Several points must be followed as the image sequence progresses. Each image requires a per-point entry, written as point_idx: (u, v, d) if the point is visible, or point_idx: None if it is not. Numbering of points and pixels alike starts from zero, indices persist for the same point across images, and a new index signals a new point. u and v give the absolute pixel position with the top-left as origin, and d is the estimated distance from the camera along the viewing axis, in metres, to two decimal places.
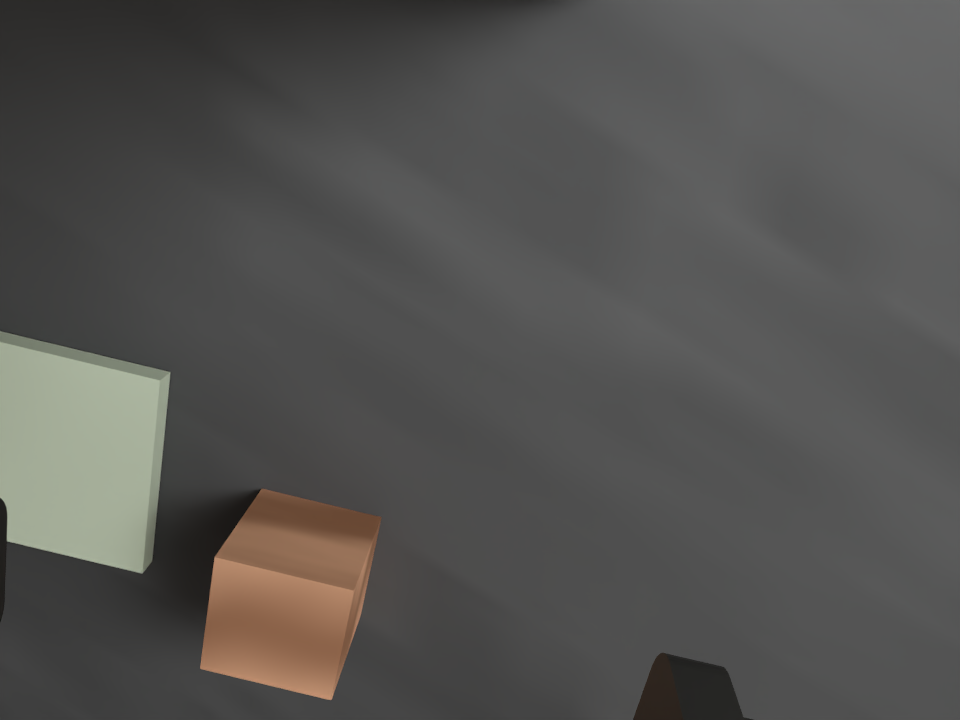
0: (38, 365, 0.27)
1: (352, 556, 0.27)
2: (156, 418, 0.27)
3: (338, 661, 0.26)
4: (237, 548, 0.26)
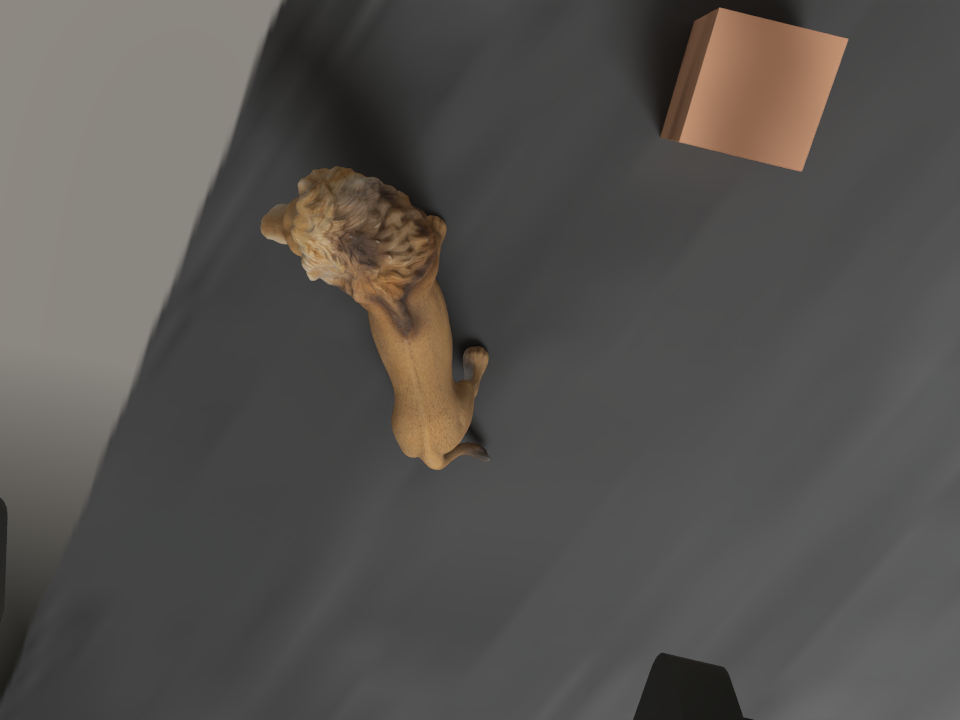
0: None
1: None
2: None
3: (724, 151, 0.28)
4: None
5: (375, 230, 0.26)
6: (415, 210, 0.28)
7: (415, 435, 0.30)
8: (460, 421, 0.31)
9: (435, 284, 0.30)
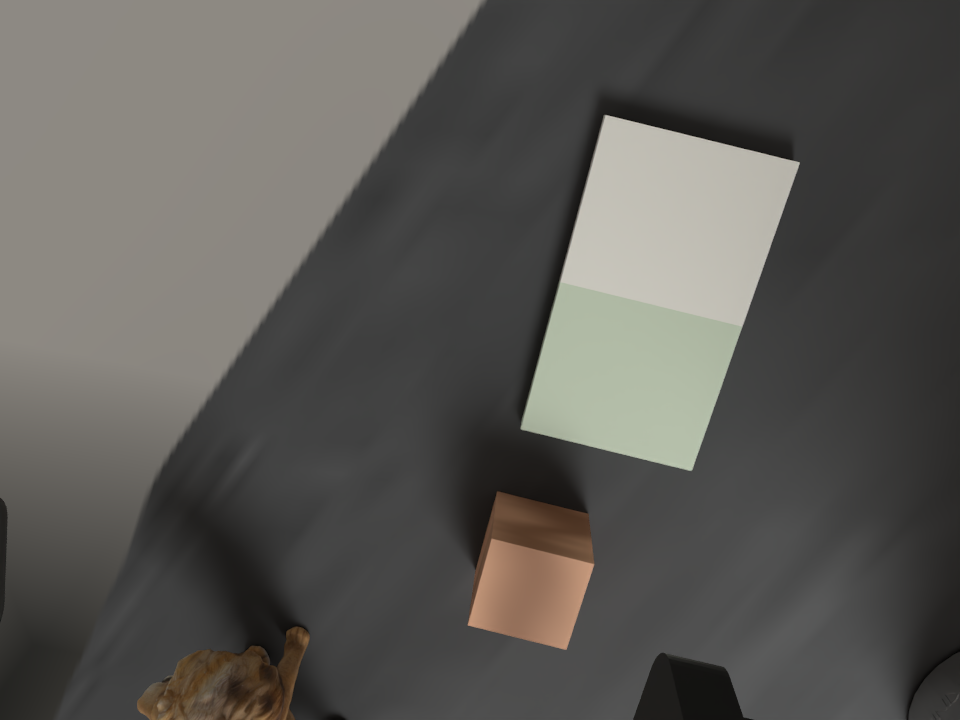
0: (709, 383, 0.35)
1: None
2: (659, 462, 0.36)
3: (503, 633, 0.35)
4: None
5: None
6: (262, 686, 0.36)
7: None
8: None
9: None
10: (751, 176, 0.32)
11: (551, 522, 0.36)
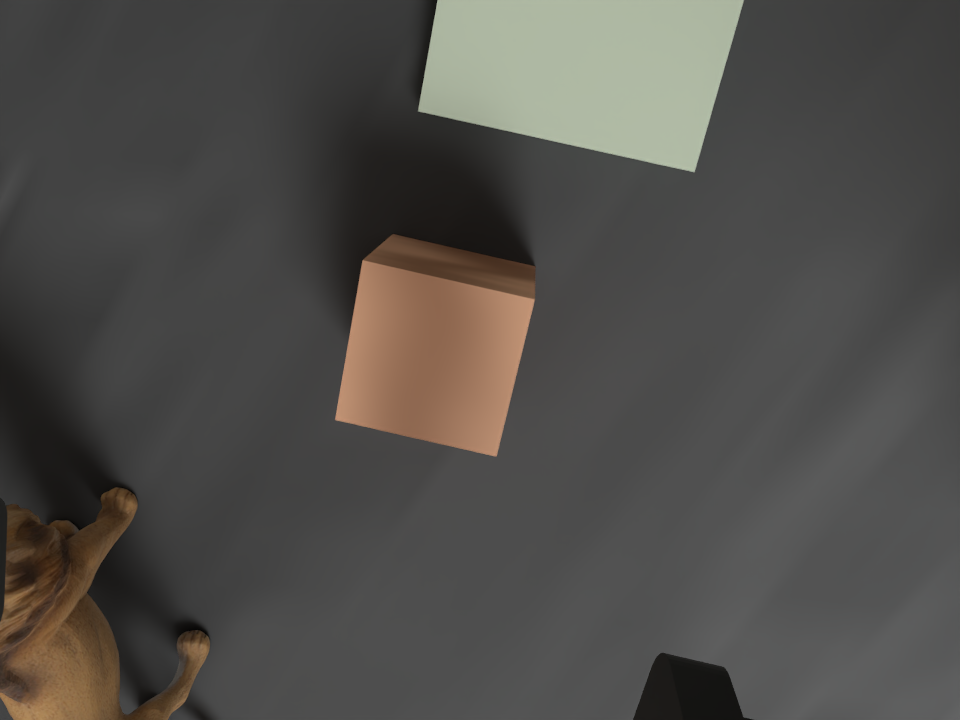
0: (720, 9, 0.21)
1: None
2: (643, 160, 0.22)
3: (394, 432, 0.22)
4: None
5: None
6: (17, 549, 0.22)
7: None
8: None
9: (67, 623, 0.23)
10: None
11: (472, 263, 0.23)
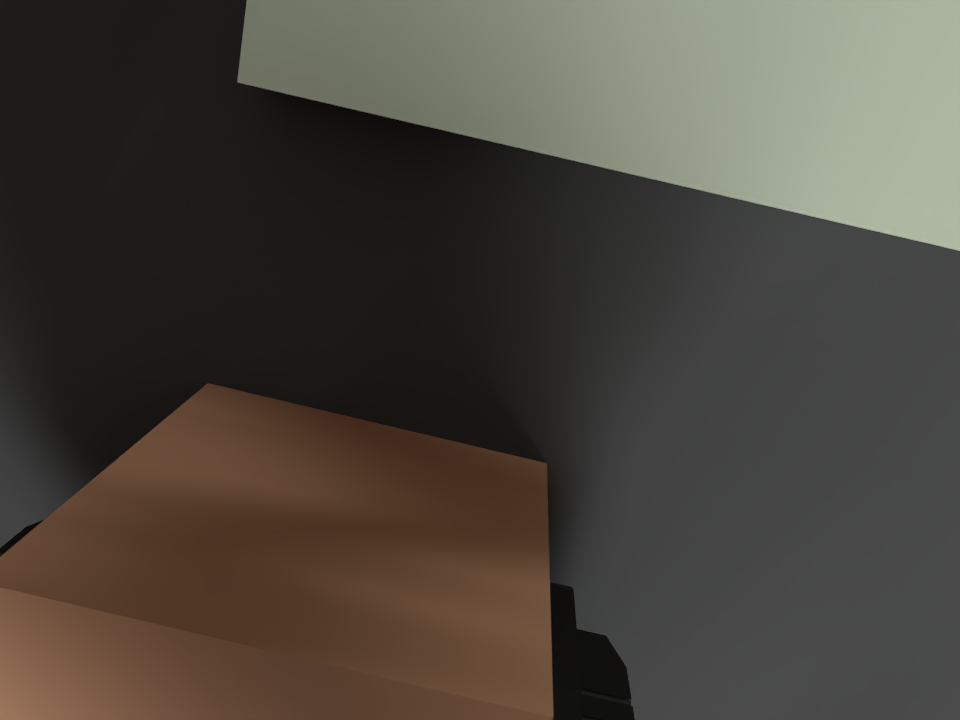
0: None
1: None
2: None
3: None
4: None
5: None
6: None
7: None
8: None
9: None
10: None
11: (382, 495, 0.09)
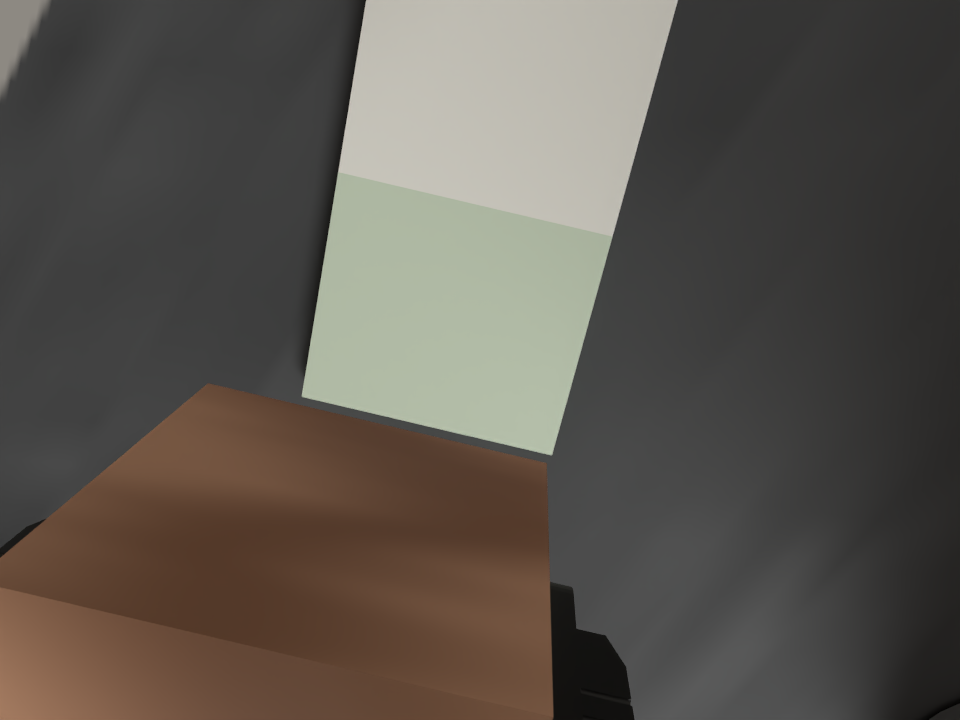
0: (569, 324, 0.23)
1: None
2: (505, 443, 0.25)
3: None
4: None
5: None
6: None
7: None
8: None
9: None
10: None
11: (382, 495, 0.09)
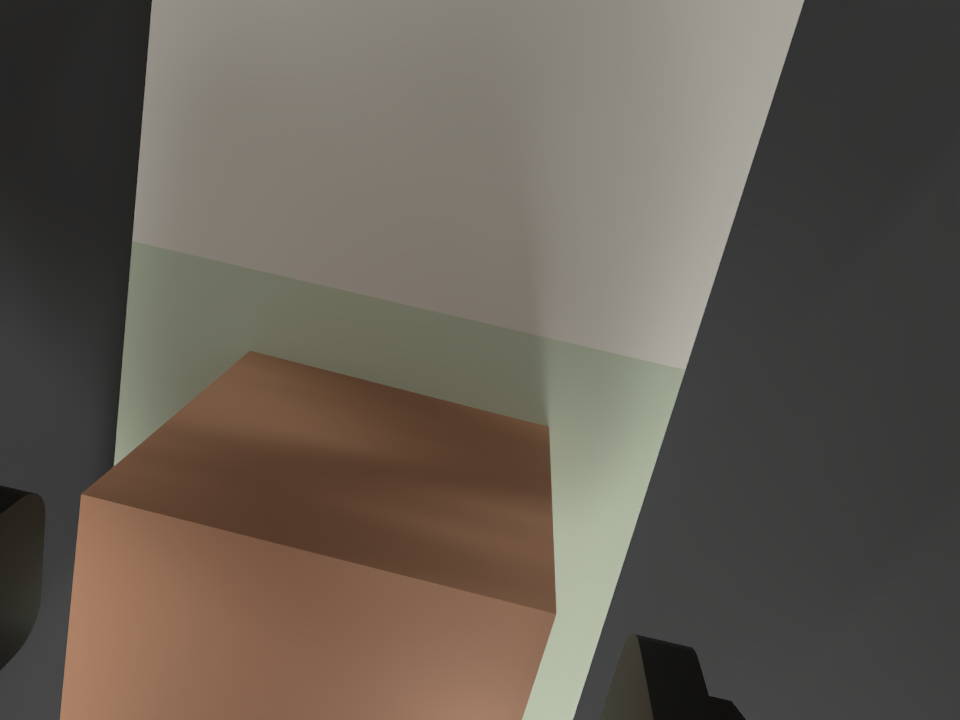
0: (597, 530, 0.12)
1: None
2: None
3: None
4: None
5: None
6: None
7: None
8: None
9: None
10: None
11: (407, 446, 0.10)
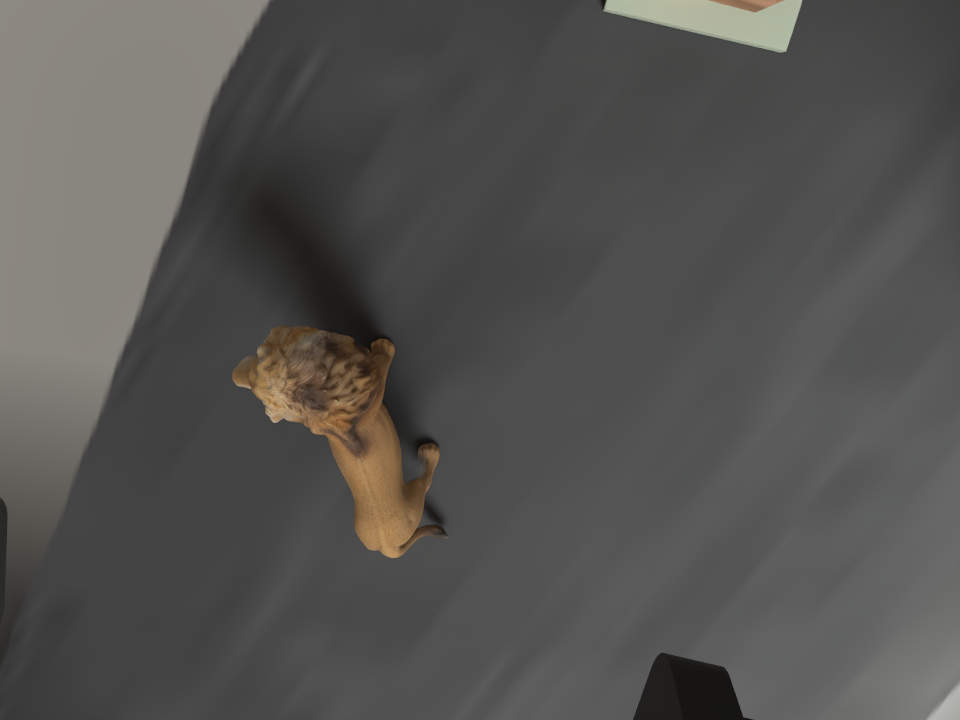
0: None
1: None
2: (752, 43, 0.34)
3: None
4: None
5: (322, 381, 0.32)
6: (358, 354, 0.35)
7: (372, 535, 0.36)
8: (411, 519, 0.37)
9: (381, 409, 0.36)
10: None
11: None
